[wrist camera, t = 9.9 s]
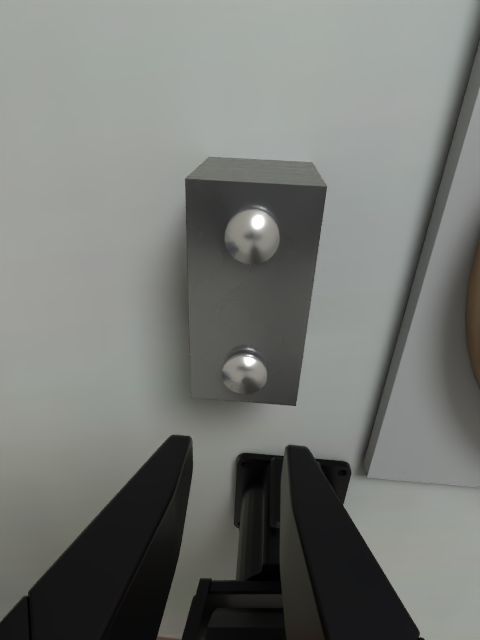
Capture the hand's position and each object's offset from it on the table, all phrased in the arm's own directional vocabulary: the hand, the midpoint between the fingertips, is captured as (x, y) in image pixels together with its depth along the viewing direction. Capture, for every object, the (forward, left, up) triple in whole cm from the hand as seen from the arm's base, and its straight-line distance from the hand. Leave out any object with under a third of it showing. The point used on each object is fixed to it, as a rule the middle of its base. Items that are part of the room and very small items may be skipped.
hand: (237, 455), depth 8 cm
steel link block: (0, 0, -11) cm, 11 cm away
